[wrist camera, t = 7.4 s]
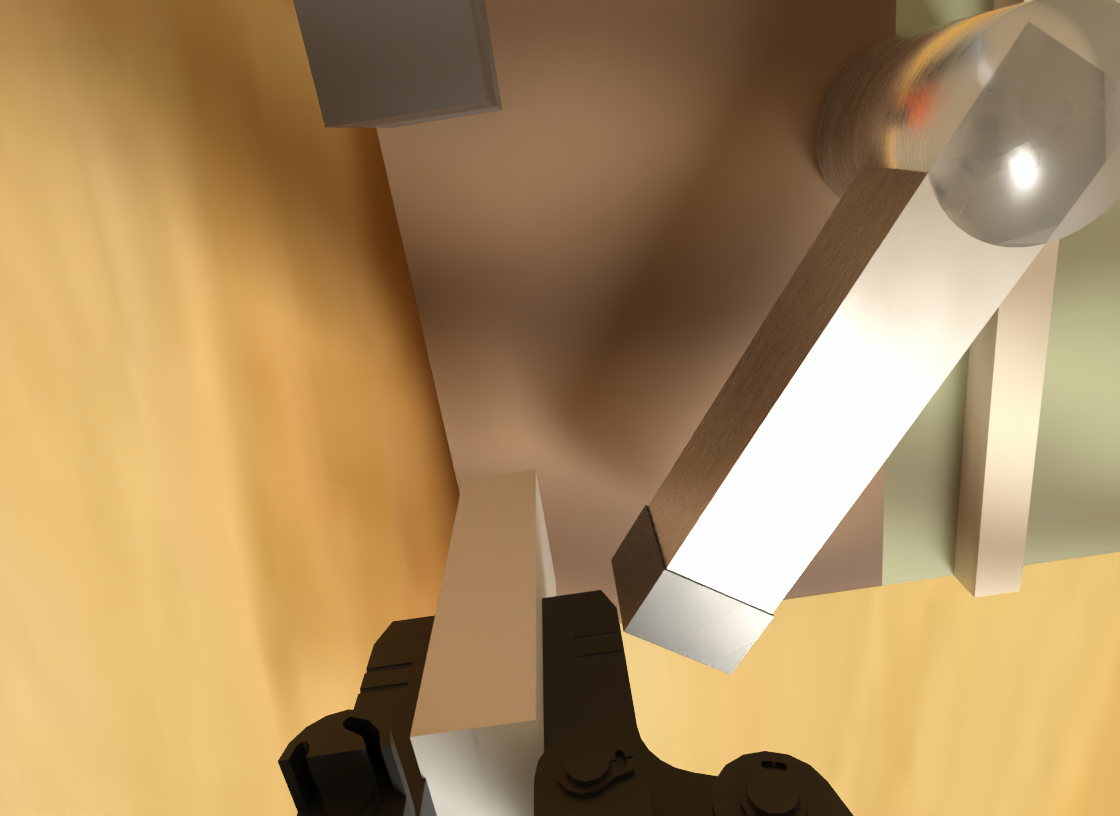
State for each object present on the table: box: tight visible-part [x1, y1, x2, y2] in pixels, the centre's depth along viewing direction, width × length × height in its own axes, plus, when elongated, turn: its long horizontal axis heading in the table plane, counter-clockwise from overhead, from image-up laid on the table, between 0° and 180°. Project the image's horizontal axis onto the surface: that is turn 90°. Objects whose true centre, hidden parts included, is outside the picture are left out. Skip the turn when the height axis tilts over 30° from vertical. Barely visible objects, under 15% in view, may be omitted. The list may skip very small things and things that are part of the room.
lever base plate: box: [293, 0, 1120, 623], centre depth 15 cm, size 19×22×6 cm
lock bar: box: [611, 0, 1120, 675], centre depth 14 cm, size 13×4×5 cm, turn 153°
